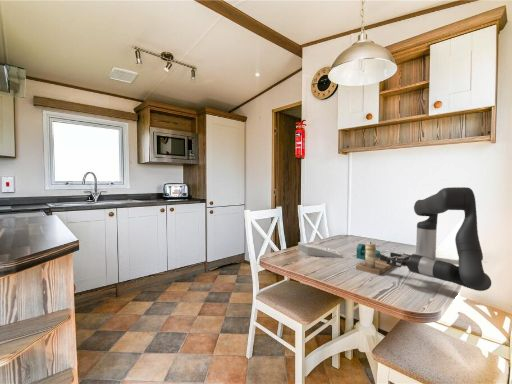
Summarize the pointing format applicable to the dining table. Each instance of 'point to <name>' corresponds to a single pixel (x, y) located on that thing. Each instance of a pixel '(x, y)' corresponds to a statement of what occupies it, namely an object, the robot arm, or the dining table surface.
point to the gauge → (370, 255)
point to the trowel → (317, 250)
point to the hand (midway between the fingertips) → (385, 255)
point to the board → (379, 267)
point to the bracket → (362, 251)
